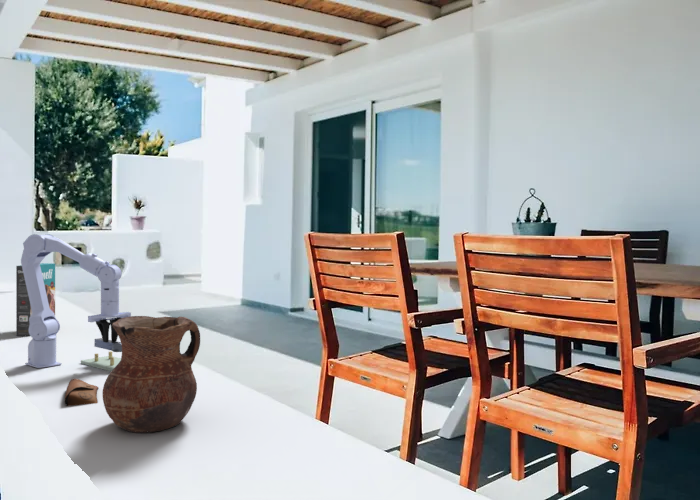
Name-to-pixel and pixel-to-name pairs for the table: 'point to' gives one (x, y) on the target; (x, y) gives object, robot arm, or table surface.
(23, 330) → the cake mix box
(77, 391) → the sunglasses case
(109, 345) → the dark grey spoon shape
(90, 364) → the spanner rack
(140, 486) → the table surface
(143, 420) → the jug
